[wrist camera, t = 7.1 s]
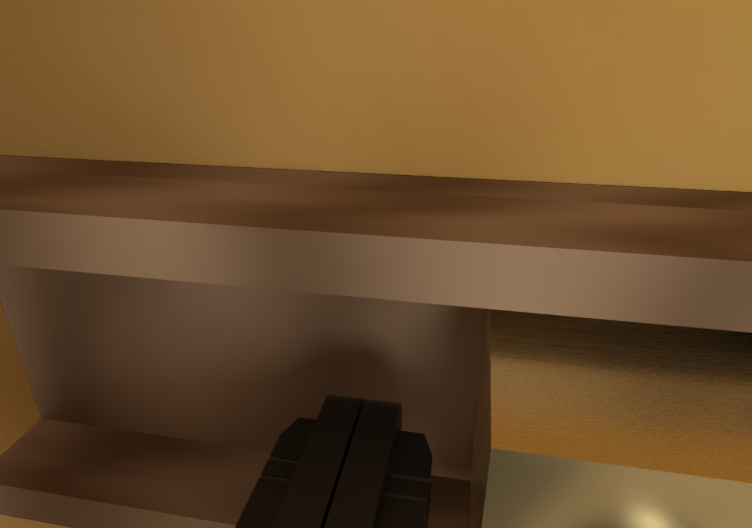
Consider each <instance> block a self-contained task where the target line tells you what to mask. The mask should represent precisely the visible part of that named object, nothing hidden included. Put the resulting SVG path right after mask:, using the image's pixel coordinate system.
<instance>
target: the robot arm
mask: <svg viewBox="0 0 752 528" xmlns="http://www.w3.org/2000/svg"><path fill="white" fill-rule="evenodd" d="M432 456H433V455H432V453H431V450H430V447H429V445H428V442H427V440H426V437H425V434H423V433H415V432H408V431H402V404H401V403H394V402H386V401H378V400H370V399H366V400H365V401H364V399H360V398H352V397H344V396H336V395H328V396H327V397H326V399H325V401H324V403H323V406H322V408H321V410H320V413H319V415H318V418H317V420H316V419H308V418H301V417H299V418H298V419H297V420H296V421H294V422H293V423H292V424H291V425H290V426H289V427H288V428H287V429H286V430H284V431H283V432H282V433H281V434H280V436H279V438H278V440H277V442H276V444H275V446H274V448H273V450H272V452H271V454H270V459H269V460H267V462H266V465H265V467H264V469H263V471H262V473H261V477H260V478H259V479H258V481H257V483H256V485H255V487H254V489H253V491H252V493H251V495H250V497H249V499H248V501H247V503H246V506H245V508H244V510H243V512H242V514H241V516H240V518H239V520H238V522H237V524H236V526H235V528H427V527H428V518H429V509H430V491H431V474H432Z"/></svg>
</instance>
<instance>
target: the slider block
mask: <svg viewBox="0 0 752 528" xmlns="http://www.w3.org/2000/svg"><path fill="white" fill-rule="evenodd" d="M469 528H752V333H750V332H739V331H728V330H717V329H706V328H695V327H684V326H673V325H662V324H651V323H639V322H628V321H617V320H606V319H595V318H584V317H573V316H562V315H551V314H540V313H529V312H518V311H507V310H496V309H487V311H486V322H485V332H484V342H483V352H482V362H481V372H480V382H479V392H478V402H477V412H476V422H475V432H474V442H473V452H472V462H471V477H470V503H469Z"/></svg>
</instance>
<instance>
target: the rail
mask: <svg viewBox="0 0 752 528" xmlns="http://www.w3.org/2000/svg"><path fill="white" fill-rule="evenodd" d="M0 302H1V305H2V308H3V311H4V313H5V316H6V319H7V322H8V325H9V327H10V330H11V333H12V336H13V339H14V341H15V344H16V347H17V350H18V353H19V356H20V358H21V361H22V364H23V367H24V370H25V372H26V375H27V378H28V381H29V384H30V386H31V389H32V392H33V395H34V398H35V401H36V403H37V406H38V409H39V412H40V415H41V417H42V419H41V420H39V421H38V422H37V423H36V424H35V425H34V426H33V427H32V428H31V429H30V430H29V431H27V432H26V433H25V434H24V435H23V436H22V437H21V438H20V439H19V440H18V441H17V442H15V443H14V444H13V445H12V446H11V447H10V448H9V449H8V450H7V451H6V452H5V453H3V454H2V455H1V456H0V514H2V515H8V516H13V517H19V518H24V519H29V520H35V521H40V522H46V523H51V524H57V525H62V526H68V527H73V528H235V526H236V524H237V522H238V520H239V518H240V516H241V514H242V512H243V510H244V508H245V506H246V503H247V501H248V499H249V497H250V495H251V493H252V491H253V489H254V487H255V485H256V483H257V481H258V479H259V478H260V477H261V473H262V471H263V469H264V467H265V465H266V462H267V460H269V459H270V454H271V452H272V450H273V448H274V446H275V444H276V442H277V440H278V438H279V436H280V434H281V433H282V432H283V431H284V430H286V429H287V428H288V427H289V426H290V425H291V424H292V423H293V422H294V421H296V420H297V419H298V418H299V417H301V418H308V419H316V420H317V418H318V415H319V413H320V410H321V408H322V406H323V403H324V401H325V399H326V397H327V396H328V395H336V396H344V397H352V398H360V399H364V401H365V400H366V399H370V400H378V401H386V402H394V403H401V404H402V431H408V432H415V433H423V434H425V437H426V440H427V442H428V445H429V447H430V450H431V453H432V455H433V456H432V474H431V491H430V509H429V518H428V527H427V528H469V503H470V477H471V462H472V452H473V442H474V432H475V422H476V412H477V402H478V392H479V382H480V372H481V362H482V352H483V342H484V332H485V322H486V311H487V309H496V310H507V311H518V312H529V313H540V314H551V315H562V316H573V317H584V318H595V319H606V320H617V321H628V322H639V323H651V324H662V325H673V326H684V327H695V328H706V329H717V330H728V331H739V332H750V333H752V193H750V192H730V191H710V190H689V189H669V188H649V187H628V186H608V185H588V184H568V183H547V182H527V181H507V180H487V179H466V178H446V177H426V176H406V175H385V174H365V173H345V172H325V171H304V170H284V169H264V168H244V167H223V166H203V165H183V164H163V163H142V162H122V161H102V160H82V159H61V158H41V157H21V156H1V155H0Z"/></svg>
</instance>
